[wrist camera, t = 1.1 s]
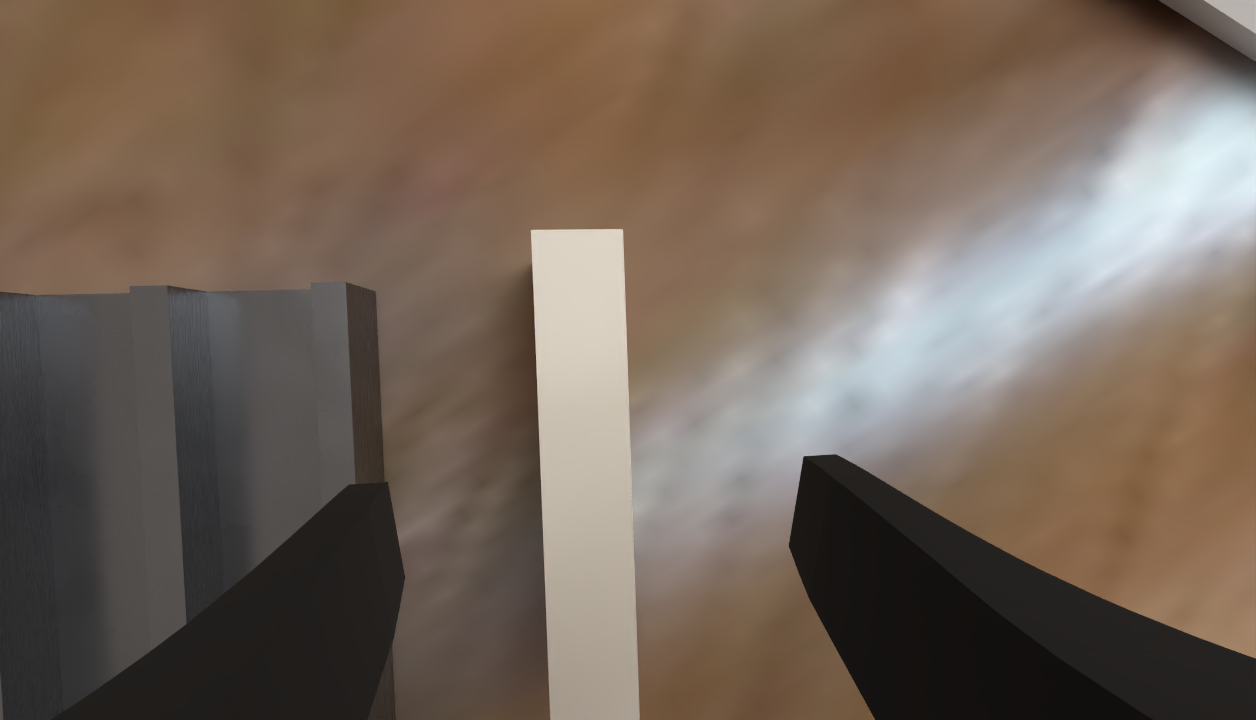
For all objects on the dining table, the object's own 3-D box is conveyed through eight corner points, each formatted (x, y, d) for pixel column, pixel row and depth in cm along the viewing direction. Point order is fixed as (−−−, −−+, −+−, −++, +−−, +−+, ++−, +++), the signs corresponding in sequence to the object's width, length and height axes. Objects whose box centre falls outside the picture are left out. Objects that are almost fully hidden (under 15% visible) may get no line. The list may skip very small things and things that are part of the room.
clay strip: (616, 624, 22) (639, 725, 16) (551, 630, 22) (550, 736, 16) (603, 260, 22) (622, 228, 16) (536, 261, 22) (531, 230, 16)
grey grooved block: (398, 783, 21) (373, 854, 18) (-106, 846, 19) (-227, 939, 16) (375, 291, 21) (345, 282, 18) (-146, 302, 19) (-278, 293, 16)
